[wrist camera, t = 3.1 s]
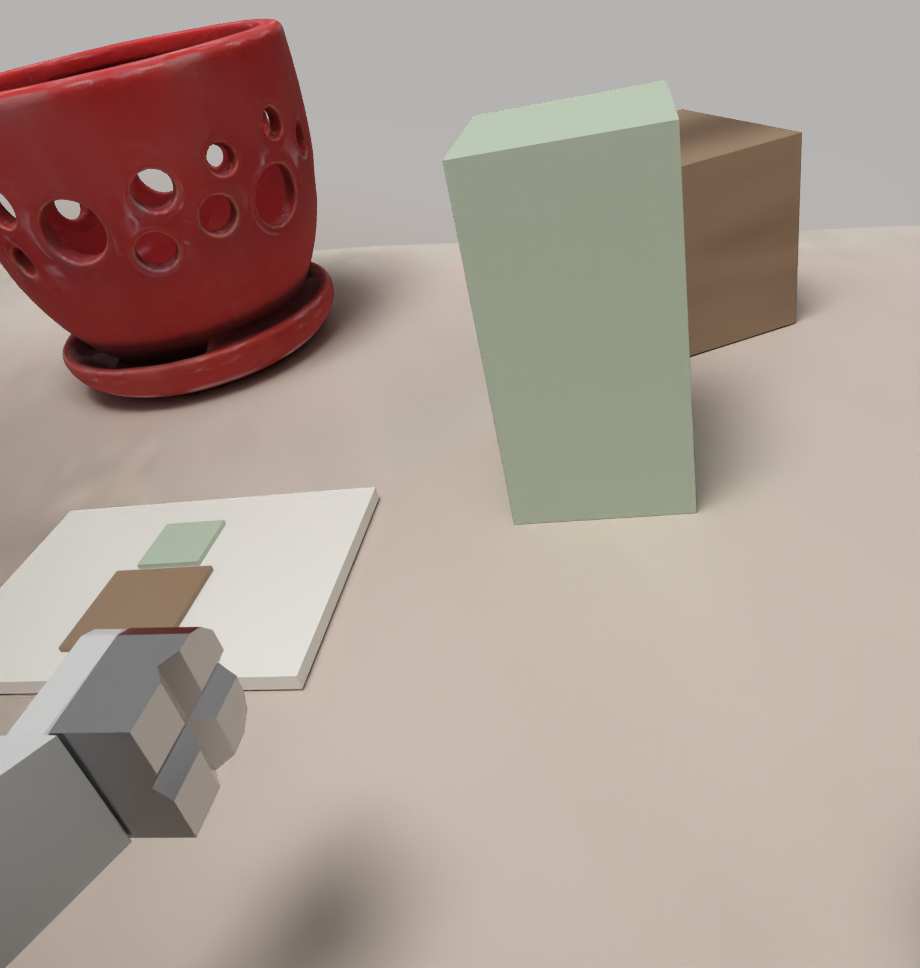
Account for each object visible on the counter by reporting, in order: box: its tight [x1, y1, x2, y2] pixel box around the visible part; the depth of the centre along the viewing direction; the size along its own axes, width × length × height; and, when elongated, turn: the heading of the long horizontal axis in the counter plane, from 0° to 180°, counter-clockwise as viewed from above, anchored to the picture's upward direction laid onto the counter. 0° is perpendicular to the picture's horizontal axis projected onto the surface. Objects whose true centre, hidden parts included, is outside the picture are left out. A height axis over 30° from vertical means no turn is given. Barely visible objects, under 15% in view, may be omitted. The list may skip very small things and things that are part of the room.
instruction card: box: [0, 487, 379, 694], centre depth 21 cm, size 10×7×1 cm
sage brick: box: [443, 80, 697, 525], centre depth 20 cm, size 4×4×9 cm
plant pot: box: [0, 19, 334, 398], centre depth 32 cm, size 13×13×12 cm
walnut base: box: [677, 109, 802, 356], centre depth 28 cm, size 7×7×6 cm
